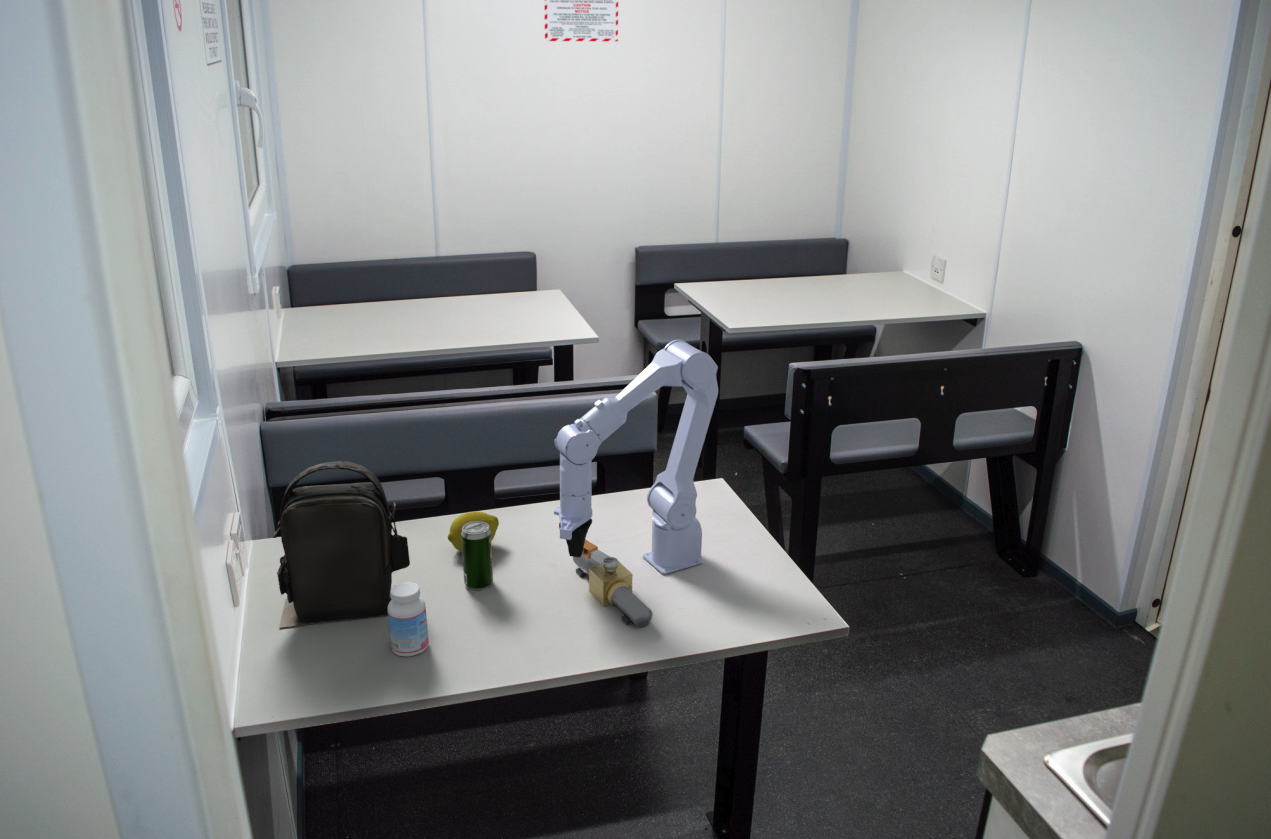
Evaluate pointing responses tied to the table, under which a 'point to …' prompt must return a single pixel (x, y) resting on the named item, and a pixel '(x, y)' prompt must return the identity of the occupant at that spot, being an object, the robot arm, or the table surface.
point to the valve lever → (599, 557)
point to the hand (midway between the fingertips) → (575, 555)
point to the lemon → (467, 518)
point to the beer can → (477, 556)
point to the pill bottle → (407, 620)
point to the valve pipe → (614, 590)
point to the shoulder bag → (337, 549)
